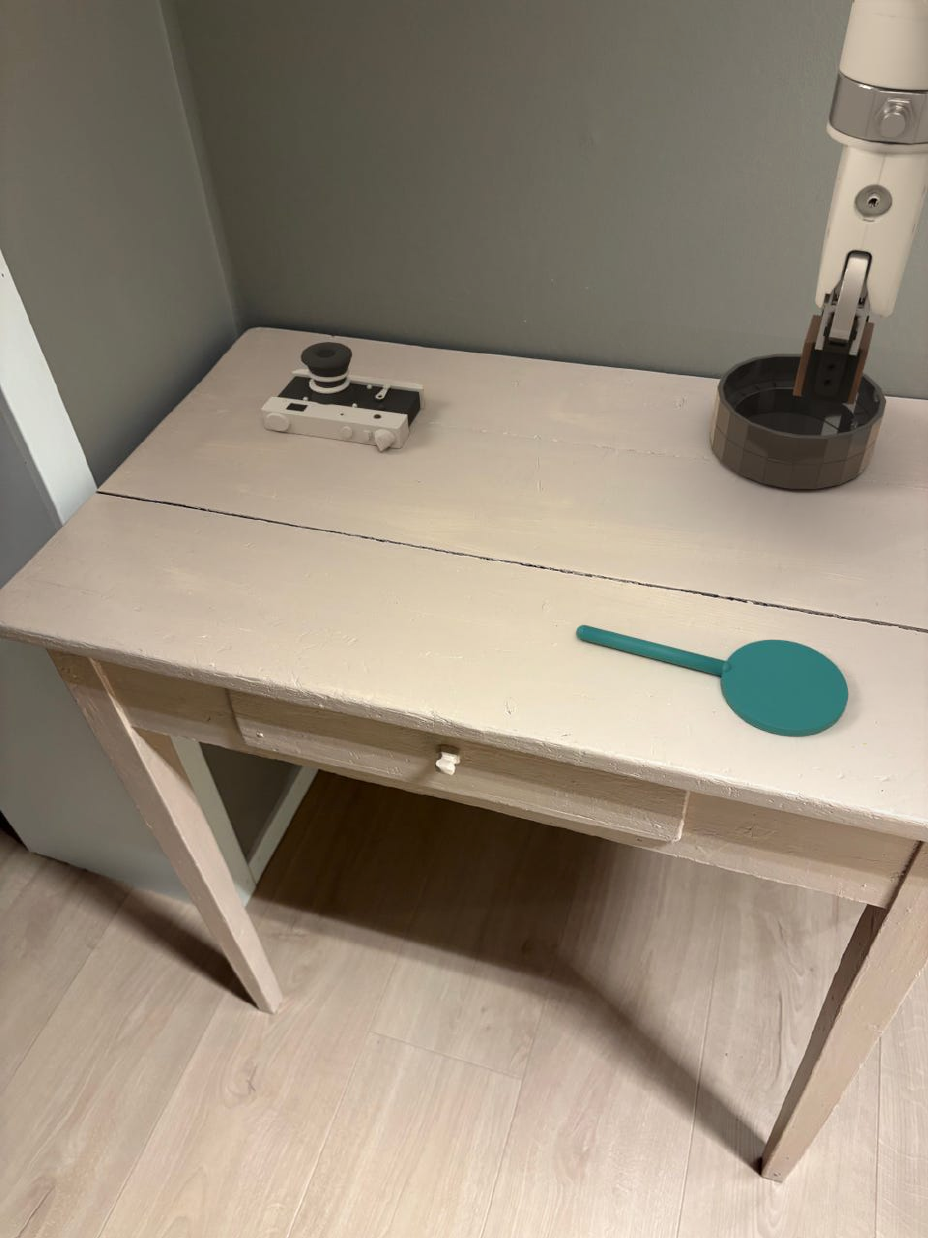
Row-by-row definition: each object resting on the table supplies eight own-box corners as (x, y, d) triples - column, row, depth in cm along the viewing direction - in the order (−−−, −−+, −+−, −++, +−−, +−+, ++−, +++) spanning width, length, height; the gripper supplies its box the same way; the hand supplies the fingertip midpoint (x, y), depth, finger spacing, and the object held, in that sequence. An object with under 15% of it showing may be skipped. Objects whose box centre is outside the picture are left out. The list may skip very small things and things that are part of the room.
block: (860, 375, 70) (874, 322, 67) (853, 405, 68) (868, 350, 65) (801, 366, 72) (813, 314, 69) (792, 395, 69) (804, 341, 66)
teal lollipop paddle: (853, 664, 73) (857, 653, 72) (836, 751, 67) (840, 740, 66) (593, 599, 79) (594, 589, 79) (557, 674, 74) (558, 663, 73)
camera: (423, 344, 98) (388, 393, 91) (428, 404, 103) (395, 455, 96) (287, 328, 101) (244, 375, 95) (298, 387, 106) (258, 435, 100)
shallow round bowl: (877, 421, 96) (893, 367, 92) (859, 507, 87) (875, 451, 82) (727, 395, 101) (736, 343, 97) (694, 474, 91) (702, 420, 87)
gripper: (960, 161, 50) (871, 454, 63) (971, 69, 61) (893, 334, 74) (812, 148, 52) (754, 433, 65) (848, 62, 63) (793, 320, 76)
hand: (829, 378), depth 69 cm, fingers closed on block, 4 cm apart
